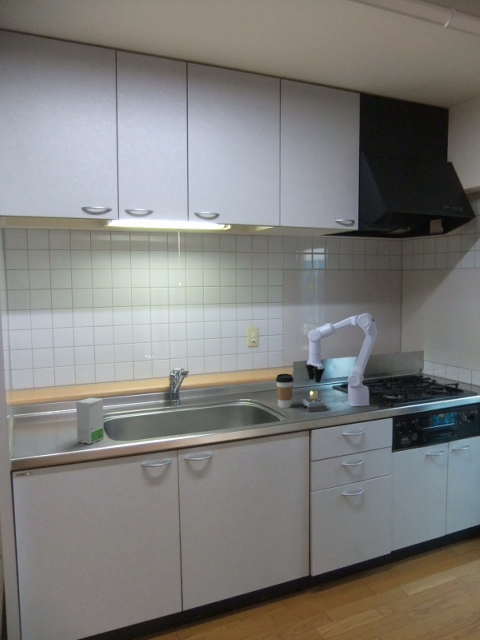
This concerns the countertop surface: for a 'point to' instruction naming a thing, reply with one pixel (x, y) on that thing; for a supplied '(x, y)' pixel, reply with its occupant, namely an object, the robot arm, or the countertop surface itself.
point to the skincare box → (90, 420)
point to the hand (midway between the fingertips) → (314, 380)
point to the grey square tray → (306, 403)
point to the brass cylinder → (313, 396)
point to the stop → (316, 408)
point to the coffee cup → (284, 390)
